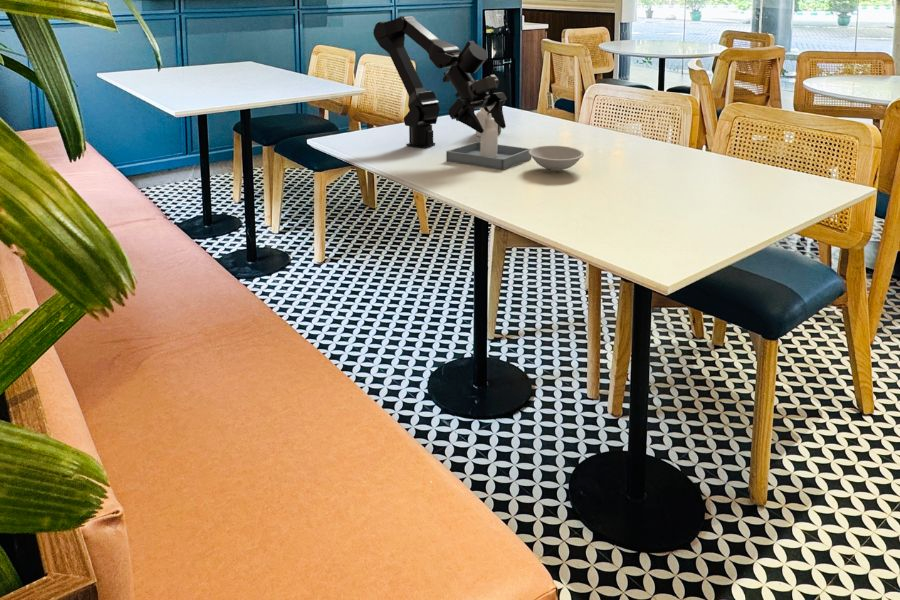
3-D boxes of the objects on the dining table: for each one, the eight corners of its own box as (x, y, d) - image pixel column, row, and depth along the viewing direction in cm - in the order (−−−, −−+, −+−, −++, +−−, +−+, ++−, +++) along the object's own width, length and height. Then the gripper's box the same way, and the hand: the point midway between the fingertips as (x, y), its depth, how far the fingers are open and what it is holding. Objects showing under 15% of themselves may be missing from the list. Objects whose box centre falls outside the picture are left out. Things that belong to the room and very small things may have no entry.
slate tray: (446, 161, 229) (446, 151, 228) (477, 151, 241) (477, 141, 240) (502, 170, 219) (502, 159, 218) (531, 158, 232) (531, 149, 231)
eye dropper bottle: (476, 156, 231) (477, 112, 226) (494, 154, 233) (495, 111, 228) (482, 159, 227) (483, 115, 222) (501, 157, 229) (502, 114, 224)
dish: (525, 163, 227) (526, 145, 225) (577, 163, 227) (579, 145, 225) (530, 179, 211) (531, 159, 209) (587, 179, 210) (588, 160, 209)
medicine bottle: (498, 137, 260) (499, 98, 255) (475, 136, 261) (476, 97, 257) (501, 133, 266) (502, 95, 262) (479, 132, 268) (480, 94, 263)
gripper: (456, 68, 217) (487, 115, 214) (502, 62, 229) (532, 107, 226) (435, 95, 225) (464, 141, 222) (481, 88, 237) (509, 132, 234)
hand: (493, 130), depth 226 cm, fingers open, 9 cm apart
